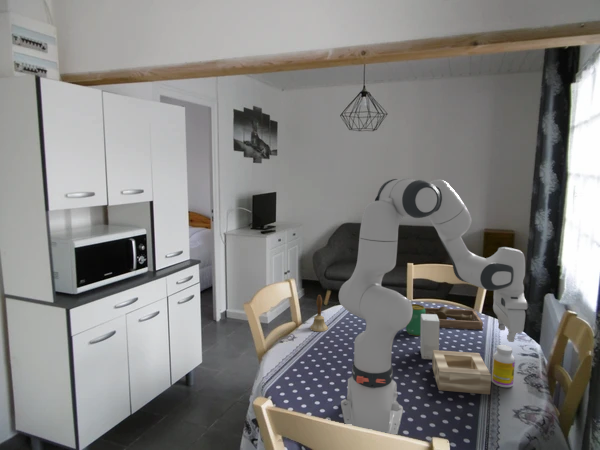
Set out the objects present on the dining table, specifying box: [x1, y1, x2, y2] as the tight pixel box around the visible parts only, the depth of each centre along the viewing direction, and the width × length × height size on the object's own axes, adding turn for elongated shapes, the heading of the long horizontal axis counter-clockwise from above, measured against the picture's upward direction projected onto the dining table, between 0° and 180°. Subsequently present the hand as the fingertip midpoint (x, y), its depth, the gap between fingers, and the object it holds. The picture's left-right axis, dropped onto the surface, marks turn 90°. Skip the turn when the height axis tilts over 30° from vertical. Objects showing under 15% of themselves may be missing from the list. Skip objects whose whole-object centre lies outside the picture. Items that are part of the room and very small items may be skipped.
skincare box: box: [419, 314, 440, 361], centre depth 162 cm, size 8×7×16 cm
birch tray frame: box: [431, 349, 492, 395], centre depth 144 cm, size 16×16×7 cm
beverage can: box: [405, 303, 426, 337], centre depth 184 cm, size 8×8×12 cm
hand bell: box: [309, 294, 329, 333], centre depth 189 cm, size 8×8×16 cm
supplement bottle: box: [491, 344, 516, 388], centre depth 141 cm, size 7×7×13 cm
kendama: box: [429, 306, 474, 321], centre depth 198 cm, size 6×10×20 cm
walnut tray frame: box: [424, 306, 484, 331], centre depth 198 cm, size 16×26×4 cm, turn 80°
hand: (505, 335), depth 140 cm, fingers open, 8 cm apart
